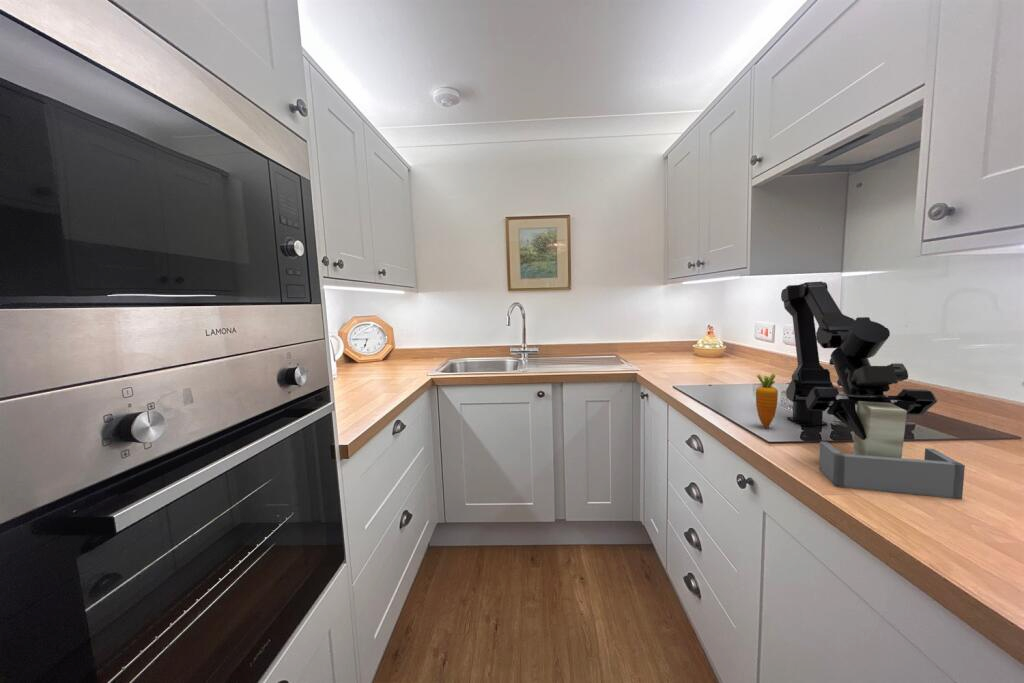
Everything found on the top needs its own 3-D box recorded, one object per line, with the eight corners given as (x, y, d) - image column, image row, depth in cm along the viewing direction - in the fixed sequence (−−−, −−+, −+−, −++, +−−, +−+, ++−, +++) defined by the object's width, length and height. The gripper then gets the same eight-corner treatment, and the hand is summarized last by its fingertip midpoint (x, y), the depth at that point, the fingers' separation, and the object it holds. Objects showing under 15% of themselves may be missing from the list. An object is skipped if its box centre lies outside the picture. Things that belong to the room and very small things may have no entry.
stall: (818, 469, 75) (820, 441, 75) (931, 479, 69) (933, 448, 69) (835, 486, 69) (837, 455, 68) (962, 498, 63) (964, 465, 62)
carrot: (750, 426, 101) (751, 373, 99) (762, 423, 103) (763, 371, 101) (769, 432, 96) (770, 376, 95) (781, 428, 98) (783, 373, 96)
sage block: (851, 462, 75) (857, 401, 73) (883, 466, 73) (890, 403, 71) (865, 474, 70) (871, 408, 68) (899, 478, 68) (906, 410, 67)
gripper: (813, 349, 76) (837, 417, 67) (933, 348, 69) (978, 424, 60) (797, 378, 84) (816, 442, 75) (903, 379, 77) (938, 450, 68)
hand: (882, 440), depth 69 cm, fingers closed on sage block, 5 cm apart
